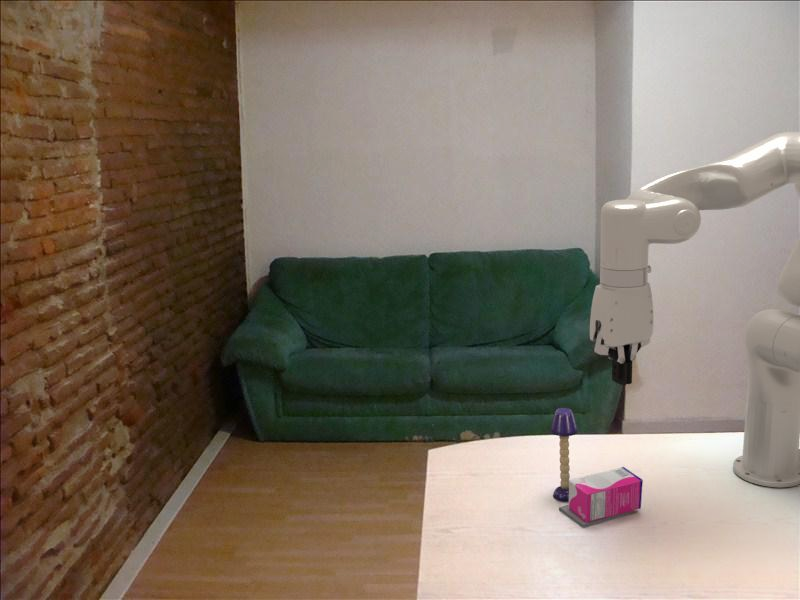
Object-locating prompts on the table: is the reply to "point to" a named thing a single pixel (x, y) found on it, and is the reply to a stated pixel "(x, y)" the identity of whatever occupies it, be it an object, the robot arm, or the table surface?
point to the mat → (581, 522)
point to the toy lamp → (563, 448)
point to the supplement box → (605, 494)
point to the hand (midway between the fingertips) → (621, 382)
